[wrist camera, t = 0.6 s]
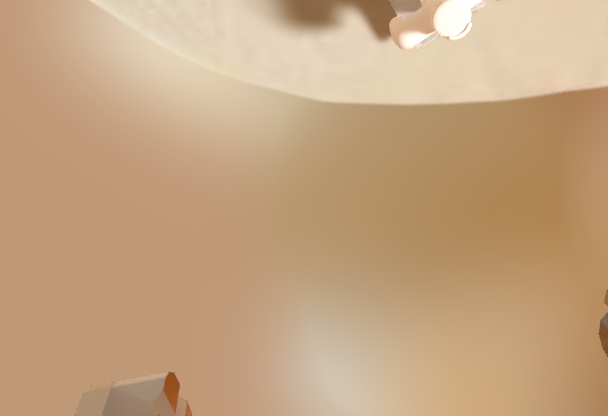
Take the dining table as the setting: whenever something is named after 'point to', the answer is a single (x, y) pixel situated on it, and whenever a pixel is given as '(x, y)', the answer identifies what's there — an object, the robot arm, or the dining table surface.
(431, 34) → the figurine
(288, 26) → the dining table surface
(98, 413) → the robot arm
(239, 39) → the dining table surface
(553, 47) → the dining table surface
